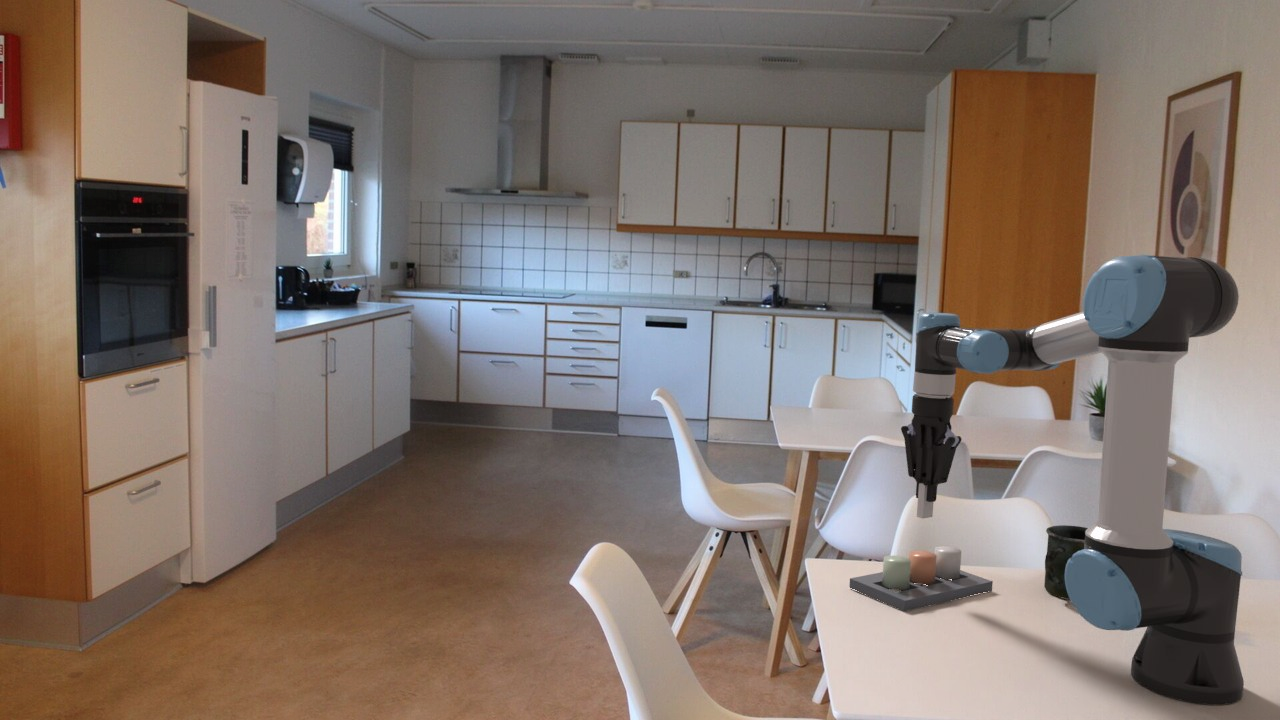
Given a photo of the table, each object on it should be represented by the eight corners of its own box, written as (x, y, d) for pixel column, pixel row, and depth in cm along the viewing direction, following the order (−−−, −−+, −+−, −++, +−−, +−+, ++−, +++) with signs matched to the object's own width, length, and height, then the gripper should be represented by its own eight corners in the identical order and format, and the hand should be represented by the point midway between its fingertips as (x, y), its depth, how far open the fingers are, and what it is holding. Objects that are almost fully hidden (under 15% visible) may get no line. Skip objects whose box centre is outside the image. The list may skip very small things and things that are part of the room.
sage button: (915, 587, 191) (916, 561, 191) (896, 591, 189) (897, 564, 188) (895, 579, 196) (896, 554, 195) (876, 583, 193) (878, 557, 192)
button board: (991, 591, 197) (992, 581, 197) (904, 611, 184) (904, 600, 184) (935, 571, 208) (936, 561, 208) (849, 588, 196) (849, 578, 195)
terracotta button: (940, 581, 195) (942, 556, 195) (922, 585, 193) (924, 559, 192) (920, 574, 199) (922, 549, 199) (902, 578, 197) (904, 552, 196)
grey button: (965, 576, 199) (966, 551, 198) (947, 580, 196) (949, 555, 196) (945, 569, 203) (946, 544, 203) (927, 572, 200) (929, 548, 200)
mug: (1114, 596, 196) (1119, 535, 195) (1072, 610, 188) (1077, 546, 187) (1062, 580, 205) (1067, 522, 204) (1019, 592, 197) (1024, 532, 195)
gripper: (974, 399, 189) (965, 523, 192) (920, 388, 200) (912, 506, 202) (947, 401, 185) (937, 527, 188) (893, 390, 196) (885, 510, 198)
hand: (924, 516), depth 195 cm, fingers closed
